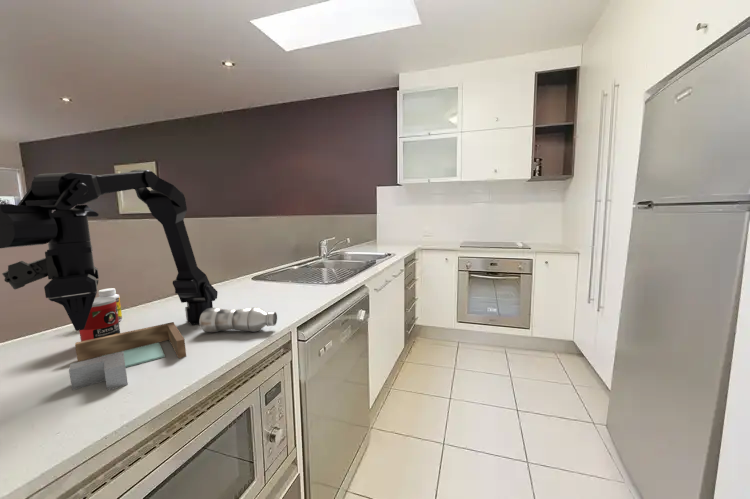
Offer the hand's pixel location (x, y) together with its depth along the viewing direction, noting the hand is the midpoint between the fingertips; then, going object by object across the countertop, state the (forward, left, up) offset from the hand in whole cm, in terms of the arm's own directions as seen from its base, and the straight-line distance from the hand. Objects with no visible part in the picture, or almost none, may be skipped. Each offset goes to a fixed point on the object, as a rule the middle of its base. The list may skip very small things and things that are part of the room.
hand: (81, 323), depth 60 cm
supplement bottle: (-4, -43, -12) cm, 45 cm away
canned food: (-2, -24, -12) cm, 27 cm away
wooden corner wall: (-7, -7, -12) cm, 16 cm away
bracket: (-2, +3, -12) cm, 12 cm away
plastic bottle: (-23, -14, -9) cm, 28 cm away
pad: (-7, -7, -12) cm, 16 cm away
